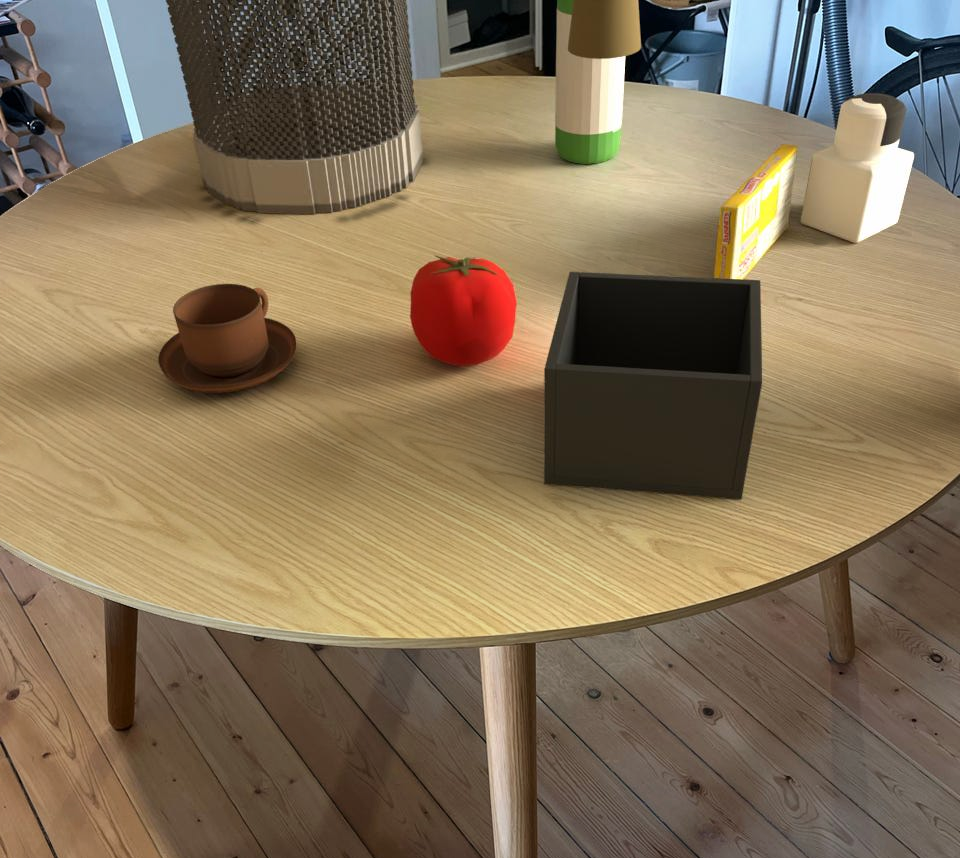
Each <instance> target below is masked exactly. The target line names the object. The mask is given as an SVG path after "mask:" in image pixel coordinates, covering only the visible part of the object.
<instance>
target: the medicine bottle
mask: <svg viewBox="0 0 960 858" xmlns="http://www.w3.org/2000/svg"><path fill="white" fill-rule="evenodd" d="M906 114H907V107H906V105H905V103H904V102H903V101H902V100H900V99H898V97H897V98H896V97H895V96H892V95H889V94H886V93H885V94H884V93H878V92H873V93H872V92H868V93H867V92H866V93H860V94H856V95H854V96H851V97H848V98H846V99H845V101H843V102H842V103H841V106H840V110H839V114H838V120H837V123H836V124H837V125H836V129H835V135H834V140H833V143H834V144H832V145H830V146H828V147H826V148H823V149H821V150H819V151H816V152H814V153H813V155H812V157H811V163H810V168H809V172H808V177H807V185H806V190H805V196H804V200H803V206H802V210H801V216H800V223H801V224H802V225H804V226H807V227H810V228H812V229H815V230H817V231H821V232H823V233H826V234H829V235H832V236H833V237H837V238H839V239H842V240H845V241H847V242H850V243H853V244H858V243H860V242H862V241H865V240H866V239H869V238H871V237H872V236H874V235H876V234H878V233H880V232H883V231H884V230H886V229H888V228H891V227H892V226H894V225H896V224H898V222H899V218H900V214H901V210H902V206H903V203H904V198H905V195H906V190H907V186H908V182H909V178H910V175H911V170H912V167H913V163H914V159H915V153H914V152H913V151H910V150H907V149H903V148H900V147H899V143H900V139H901V134H902V131H903V126H904V122H905V119H906Z"/></svg>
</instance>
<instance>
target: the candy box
mask: <svg viewBox="0 0 960 858" xmlns="http://www.w3.org/2000/svg"><path fill="white" fill-rule="evenodd" d="M797 155H798V145H794V144H793V145H792V144H784V143H782V144H780V146H779V147H778V148H777V149H776V150H775V151H774V152H773V153H772V154H771V155H770V156H769V157H768V158H767V159H766V160H765V162H763V164H761V165H760V167H758V168H757V170H755V171H754V173H753V174H751V176H750V177H749V178H748V179H747V180H746V181H745V182H744V183H743V184H742V185H741V186H740V187H739V188H738V189H737V190H736V191H735V192H734V193H733V194H731V196H730V197H729V198H728V199H727V200H726V201H725V202H724V203H723V204H722V205H721V206H720V211H719V219H718V226H717V227H718V229H717V238H716V239H717V240H716V250H715V262H714V272H713V278H724V279H745V278H746V276H747V275H748V274H749V273H750V272H751V270H752V269H753V268H754V267H755V266H756V264H757V263H758V262H759V261H760V260H761V259H762V258H763V257H764V255H765V254H767V252H768V251H769V249H770V248H771V247H772V246H773V245H774V244H775V242H777V240H778V238H780V237H781V236H782V234H783V233H785V231H786V230H787V229H788V225H789V217H790V216H789V215H790V208H791V202H792V195H793V187H794V186H793V185H794V178H795V170H796V164H797Z"/></svg>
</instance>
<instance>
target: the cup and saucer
mask: <svg viewBox="0 0 960 858" xmlns="http://www.w3.org/2000/svg"><path fill="white" fill-rule="evenodd" d="M268 310H269V297H268V295H267V293H266V291H265V290H264V289H263V288H262V287H254V288H252V287H249V286H247V285H243V284H237V283H218V284H217V283H216V284H210V285H205V286H202V287H198V288H196V289H193V290H191V291H189V292H187V293H185V294H184V295H182V296H181V297H180V298H179V299H178V300H176V302H175V303H174V305H173V307H172V313H173V316H174V320H175V323H176V327H177V330H178V332H177V333H176V334H174V335H173V336H172V337H171V338H169V339H168V340H166V342H165V343H163V345H162V347H161V348H160V350H159V353H158V356H157V362H158V366H159V369H160V370H161V372H162V373H163V375H164V376H165V378H167V380H169V381H171V382H172V383H173V384H175V385H178V386H180V387H182V388H185V389H187V390H190V391H193V392H194V391H195V392H199V393H200V392H201V393H210V394H217V393H218V394H223V393H233V392H238V391H242V390H247V389H250V388H254V387H256V386H259V385H262V384H264V383H265V382H268V381H269V380H270V381H271V379H273V378H275V377H276V376H277V375H279V374H280V373H281V372H282V371H284V370H285V369H286V368H287V366H288V365H289V364H290V363H291V362H292V360H293V359H294V358H295V355H296V353H297V352H296V351H297V338H296V335H295V333H294V332H293V330H292V329H291V328H289V327H288V326H287V325H285V324H284V323H282V322H281V321H278V320H276V319H272V318H268V317H266V315H267V313H268Z"/></svg>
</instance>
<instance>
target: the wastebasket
mask: <svg viewBox="0 0 960 858" xmlns="http://www.w3.org/2000/svg"><path fill="white" fill-rule="evenodd" d="M353 1H354V2H352V0H323V2H322V0H250V3H249V0H165V3H166V5H167V12H168V14H169V16H170V17H169V21H170V24H171V30H172V34H173V36H174V43H175V44H176V45H177V46H176V51H177V55H178V61H179V63H180V65H181V66H180V70H181V72H182V79H183V81H184V87H185V91H186V96H187V100H188V102H189V103H188V105H189V108H190V111H191V112H190V114H191V118H192V120H193V121H192V123H193V126H194V128H193V133H192V134H191V136H192V142H193V145H194V149H195V154H196V158H197V163H198V167H199V172H200V176H201V180H202V184H203V187H204V189H206V190H207V192H208V194H210V195H211V196H213V198H215V199H218V200H219V201H221V203H223V204H226V206H232V208H235V209H236V210H242V212H257V214H282V215H283V214H288V215H290V214H291V215H292V214H293V215H315V214H316V213H326V214H327V213H329V214H331V213H333V212H342V211H343V210H347V209H356V208H357V207H361V206H362V205H363V206H364V205H366V204H370V203H372V202H376V201H377V200H378V201H379V200H381V199H385V198H386V197H391V196H392V194H397V192H402V190H403V189H407V188H408V185H409V183H413V182H415V178H416V176H417V175H418V172H419V170H420V168H421V166H422V164H423V161H424V153H423V141H422V128H421V126H422V125H421V113H420V109H419V108H420V107H419V104H417V102H416V100H415V96H414V95H415V89H414V79H413V76H414V75H413V70H412V69H413V68H412V67H413V63H412V62H413V61H412V52H411V42H410V38H411V36H410V33H409V29H410V25H409V14H408V4H407V0H353ZM342 4H343V5H342ZM357 5H358V7H357ZM255 6H256V7H255ZM245 7H246V9H245ZM308 9H309V11H308ZM346 9H347V10H346ZM353 11H354V12H353ZM242 13H243V14H242ZM343 14H344V15H343ZM358 15H359V16H358ZM247 17H248V18H247ZM238 18H239V19H238ZM332 18H333V19H332ZM347 18H348V19H347ZM243 22H244V24H243ZM337 22H338V23H337ZM234 24H236V25H234ZM290 24H291V25H290ZM334 27H335V28H334ZM240 28H241V29H240ZM287 28H288V30H287ZM338 31H339V33H338ZM236 33H237V35H236ZM291 33H292V34H291ZM297 37H298V38H297ZM324 40H325V41H324ZM293 42H294V43H293ZM328 44H329V45H328ZM358 54H359V55H358ZM348 57H349V58H348ZM311 58H312V59H311ZM255 60H256V61H255ZM315 62H316V63H315ZM359 63H360V64H359ZM349 66H350V67H349ZM339 70H340V71H339ZM340 78H341V80H340ZM249 80H250V81H249ZM295 80H296V81H295ZM246 85H247V86H246Z"/></svg>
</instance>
